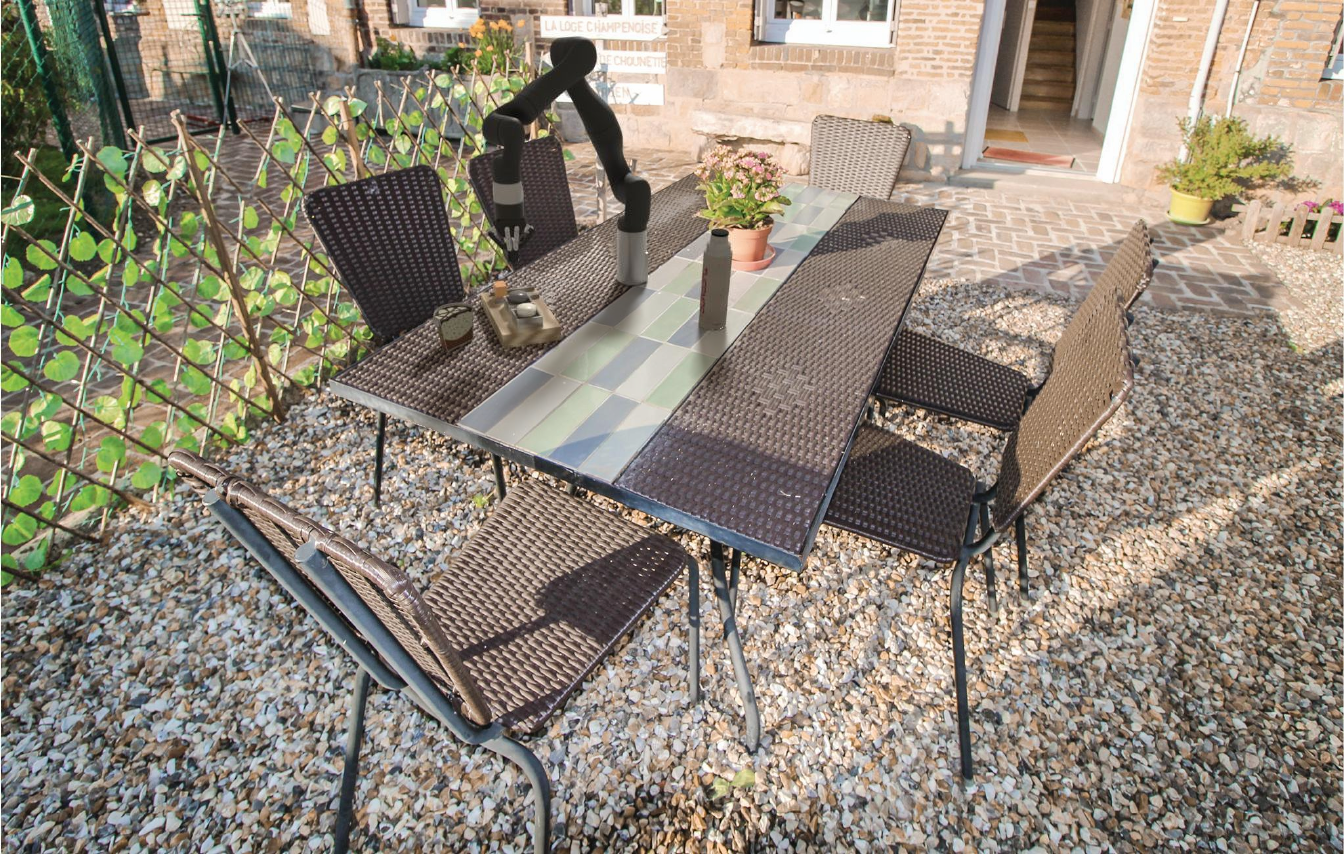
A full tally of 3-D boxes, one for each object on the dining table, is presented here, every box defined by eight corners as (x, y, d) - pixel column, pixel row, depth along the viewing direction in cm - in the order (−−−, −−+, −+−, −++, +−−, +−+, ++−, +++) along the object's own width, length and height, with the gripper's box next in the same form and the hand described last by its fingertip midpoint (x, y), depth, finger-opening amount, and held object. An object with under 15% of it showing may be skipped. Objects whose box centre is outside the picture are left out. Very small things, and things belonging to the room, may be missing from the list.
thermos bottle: (700, 330, 212) (707, 236, 196) (697, 318, 219) (703, 225, 203) (727, 330, 213) (736, 236, 197) (723, 318, 220) (732, 226, 204)
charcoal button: (524, 295, 211) (524, 289, 210) (529, 302, 207) (529, 296, 206) (507, 297, 209) (507, 291, 208) (511, 304, 205) (511, 298, 204)
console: (534, 298, 225) (533, 277, 221) (561, 339, 204) (560, 316, 200) (481, 305, 219) (479, 283, 215) (503, 348, 198) (501, 325, 194)
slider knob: (504, 293, 217) (503, 280, 215) (507, 299, 214) (506, 286, 212) (494, 294, 216) (493, 282, 214) (497, 300, 213) (496, 287, 211)
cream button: (533, 308, 204) (532, 302, 203) (538, 315, 200) (537, 309, 199) (515, 310, 202) (514, 304, 201) (519, 318, 198) (519, 312, 197)
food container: (462, 330, 206) (458, 297, 200) (477, 337, 203) (474, 304, 197) (427, 347, 197) (421, 313, 192) (442, 354, 195) (437, 320, 189)
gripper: (530, 192, 194) (534, 255, 204) (479, 195, 190) (485, 260, 200) (537, 201, 189) (540, 265, 198) (484, 204, 184) (490, 270, 194)
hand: (512, 262), depth 199 cm, fingers closed
